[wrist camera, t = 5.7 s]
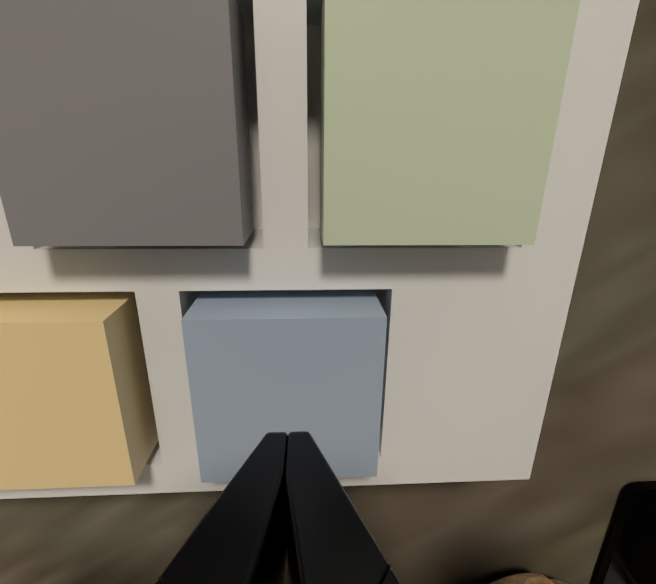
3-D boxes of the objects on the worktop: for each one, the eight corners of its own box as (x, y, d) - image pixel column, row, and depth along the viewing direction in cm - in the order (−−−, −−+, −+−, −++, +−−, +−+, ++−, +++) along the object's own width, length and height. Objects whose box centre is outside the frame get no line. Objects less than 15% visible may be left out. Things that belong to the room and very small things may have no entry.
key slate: (366, 430, 12) (376, 476, 10) (215, 434, 12) (201, 482, 10) (373, 290, 10) (387, 317, 9) (201, 291, 10) (181, 319, 8)
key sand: (159, 435, 12) (135, 485, 10) (0, 440, 11) (-54, 492, 10) (137, 292, 10) (102, 321, 8) (-48, 294, 10) (-121, 324, 8)
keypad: (480, 407, 15) (548, 507, 11) (-78, 422, 14) (-245, 541, 10) (575, -176, 10) (791, -432, 5) (-338, -230, 8) (-989, -614, 4)
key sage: (495, 229, 10) (534, 244, 8) (319, 228, 10) (323, 245, 8) (526, 23, 9) (582, -8, 7) (320, 17, 8) (325, -17, 7)
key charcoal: (254, 228, 10) (243, 245, 8) (65, 228, 9) (13, 246, 8) (243, 14, 8) (227, -20, 6) (19, 8, 8) (-58, -30, 6)
